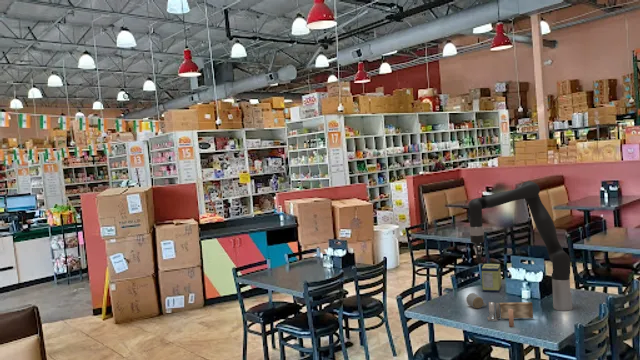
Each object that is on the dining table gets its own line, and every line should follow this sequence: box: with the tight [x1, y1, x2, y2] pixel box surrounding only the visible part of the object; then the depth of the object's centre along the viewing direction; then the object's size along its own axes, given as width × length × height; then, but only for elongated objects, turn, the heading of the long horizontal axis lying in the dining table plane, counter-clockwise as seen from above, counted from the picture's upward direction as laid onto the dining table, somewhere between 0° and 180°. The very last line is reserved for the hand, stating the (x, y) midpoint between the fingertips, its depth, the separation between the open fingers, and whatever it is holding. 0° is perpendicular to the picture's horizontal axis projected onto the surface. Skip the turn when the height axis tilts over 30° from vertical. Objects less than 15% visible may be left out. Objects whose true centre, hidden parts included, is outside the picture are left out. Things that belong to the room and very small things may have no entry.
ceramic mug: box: [465, 292, 487, 310], centre depth 313 cm, size 11×8×8 cm
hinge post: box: [486, 301, 499, 322], centre depth 289 cm, size 5×5×10 cm
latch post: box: [508, 309, 515, 328], centre depth 276 cm, size 2×2×9 cm
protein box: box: [481, 263, 503, 293], centre depth 348 cm, size 10×16×16 cm
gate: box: [494, 301, 534, 319], centre depth 286 cm, size 19×2×8 cm, turn 78°
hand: (478, 261), depth 305 cm, fingers open, 8 cm apart
